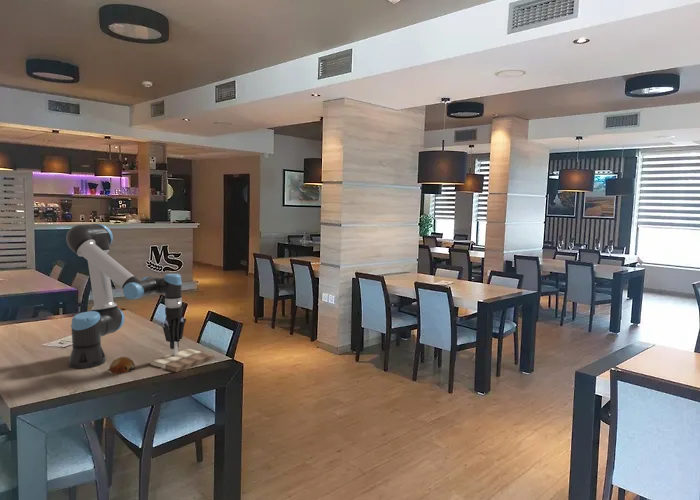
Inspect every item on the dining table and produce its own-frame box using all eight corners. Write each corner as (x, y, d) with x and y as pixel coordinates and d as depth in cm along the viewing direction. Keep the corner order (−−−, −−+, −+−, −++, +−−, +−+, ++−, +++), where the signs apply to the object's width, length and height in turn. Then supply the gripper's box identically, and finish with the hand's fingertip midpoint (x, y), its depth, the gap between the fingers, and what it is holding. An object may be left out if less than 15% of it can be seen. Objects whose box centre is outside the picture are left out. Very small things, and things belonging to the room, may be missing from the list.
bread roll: (130, 374, 224) (126, 357, 225) (140, 369, 217) (136, 352, 219) (108, 379, 216) (104, 362, 217) (118, 375, 210) (114, 357, 211)
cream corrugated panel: (163, 368, 220) (163, 363, 220) (150, 364, 224) (150, 360, 224) (201, 355, 239) (201, 351, 238) (188, 352, 243) (188, 348, 243)
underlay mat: (176, 374, 214) (176, 373, 214) (144, 365, 225) (144, 364, 225) (217, 359, 234) (217, 358, 234) (186, 352, 246) (186, 351, 246)
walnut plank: (176, 372, 215) (176, 367, 215) (165, 368, 219) (165, 364, 219) (214, 359, 234) (214, 354, 234) (203, 356, 238) (203, 352, 238)
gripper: (167, 309, 222) (168, 359, 225) (190, 305, 234) (190, 352, 236) (156, 307, 226) (157, 357, 228) (179, 303, 237) (180, 350, 240)
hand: (174, 354), depth 232 cm, fingers closed
